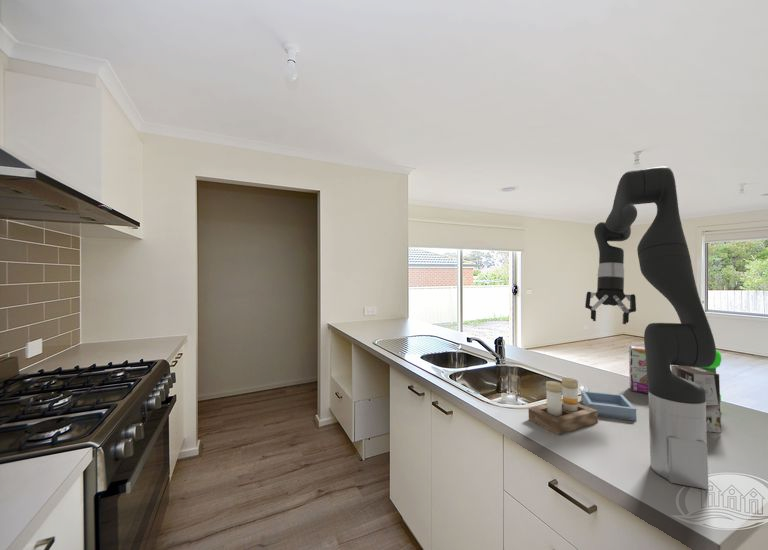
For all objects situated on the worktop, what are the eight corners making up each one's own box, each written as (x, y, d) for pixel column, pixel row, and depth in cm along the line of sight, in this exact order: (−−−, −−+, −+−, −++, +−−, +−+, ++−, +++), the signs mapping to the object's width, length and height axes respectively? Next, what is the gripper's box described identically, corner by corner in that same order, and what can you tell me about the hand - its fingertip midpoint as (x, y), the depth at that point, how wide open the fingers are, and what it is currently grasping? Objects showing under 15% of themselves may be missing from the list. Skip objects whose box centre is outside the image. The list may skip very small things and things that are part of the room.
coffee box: (722, 433, 84) (721, 374, 85) (695, 431, 86) (693, 373, 86) (696, 418, 93) (694, 365, 94) (671, 416, 95) (670, 364, 95)
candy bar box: (631, 391, 115) (630, 348, 115) (629, 387, 119) (628, 345, 120) (671, 397, 109) (669, 351, 109) (667, 392, 113) (666, 348, 114)
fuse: (563, 427, 89) (562, 386, 89) (547, 425, 91) (546, 384, 91) (561, 421, 93) (560, 381, 93) (546, 419, 95) (545, 380, 95)
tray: (636, 420, 92) (636, 409, 92) (589, 414, 97) (589, 403, 97) (622, 405, 104) (622, 394, 104) (581, 400, 108) (581, 390, 108)
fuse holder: (566, 409, 101) (566, 398, 101) (597, 422, 92) (597, 410, 92) (528, 419, 95) (528, 408, 95) (558, 434, 85) (557, 422, 85)
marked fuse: (580, 422, 92) (579, 382, 92) (564, 420, 93) (563, 381, 94) (577, 416, 96) (576, 378, 96) (561, 414, 97) (560, 377, 97)
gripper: (587, 274, 109) (585, 320, 108) (638, 276, 102) (637, 325, 100) (585, 277, 115) (584, 320, 114) (634, 279, 108) (632, 325, 107)
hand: (609, 322), depth 107 cm, fingers open, 8 cm apart
